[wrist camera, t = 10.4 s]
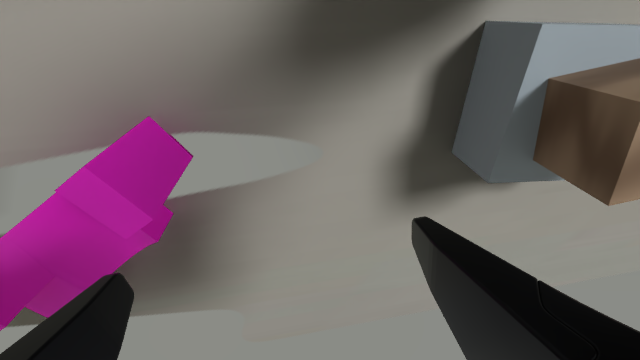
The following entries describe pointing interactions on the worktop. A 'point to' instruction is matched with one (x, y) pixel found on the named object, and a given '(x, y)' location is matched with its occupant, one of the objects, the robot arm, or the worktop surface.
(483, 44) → the slate base block
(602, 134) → the walnut cube
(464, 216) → the worktop surface
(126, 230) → the toy block
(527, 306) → the robot arm
